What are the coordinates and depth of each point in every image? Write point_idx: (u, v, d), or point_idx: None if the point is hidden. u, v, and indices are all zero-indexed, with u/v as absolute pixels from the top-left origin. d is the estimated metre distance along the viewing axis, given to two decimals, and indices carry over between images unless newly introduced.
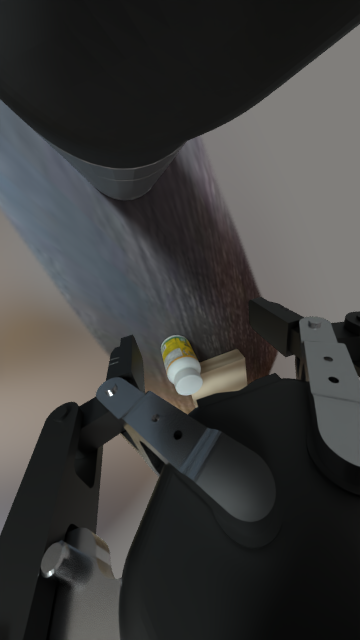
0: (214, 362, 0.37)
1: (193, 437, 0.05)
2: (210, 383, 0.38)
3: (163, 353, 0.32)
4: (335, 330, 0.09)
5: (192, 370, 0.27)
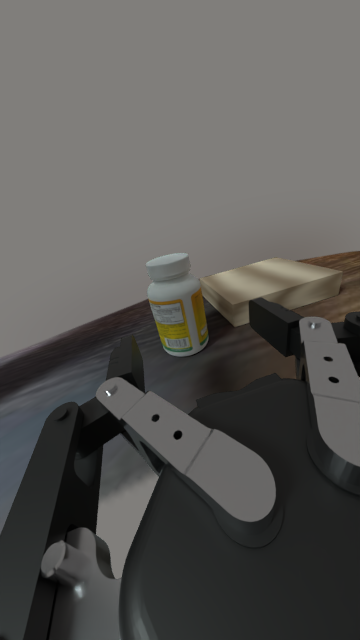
0: (213, 298, 0.27)
1: (193, 437, 0.05)
2: (240, 285, 0.25)
3: (172, 337, 0.18)
4: (335, 330, 0.09)
5: None
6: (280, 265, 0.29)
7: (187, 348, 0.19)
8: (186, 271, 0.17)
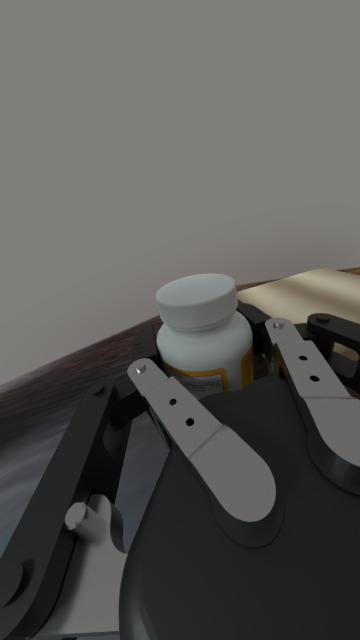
0: None
1: (203, 427, 0.05)
2: (290, 314, 0.17)
3: None
4: (298, 330, 0.09)
5: None
6: (336, 281, 0.21)
7: None
8: (233, 313, 0.09)
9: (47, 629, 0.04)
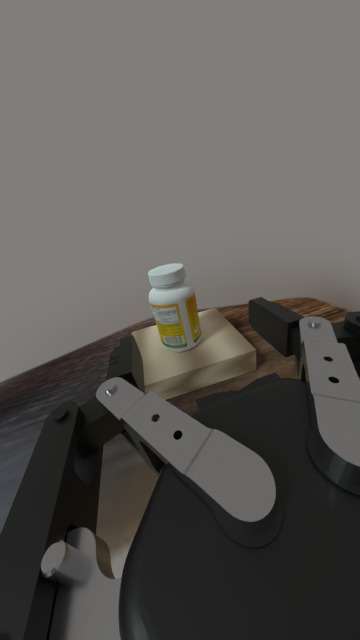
0: None
1: (193, 437, 0.05)
2: (157, 355, 0.23)
3: (170, 335, 0.22)
4: (335, 330, 0.09)
5: None
6: (210, 324, 0.27)
7: (182, 344, 0.22)
8: (181, 280, 0.20)
9: None
